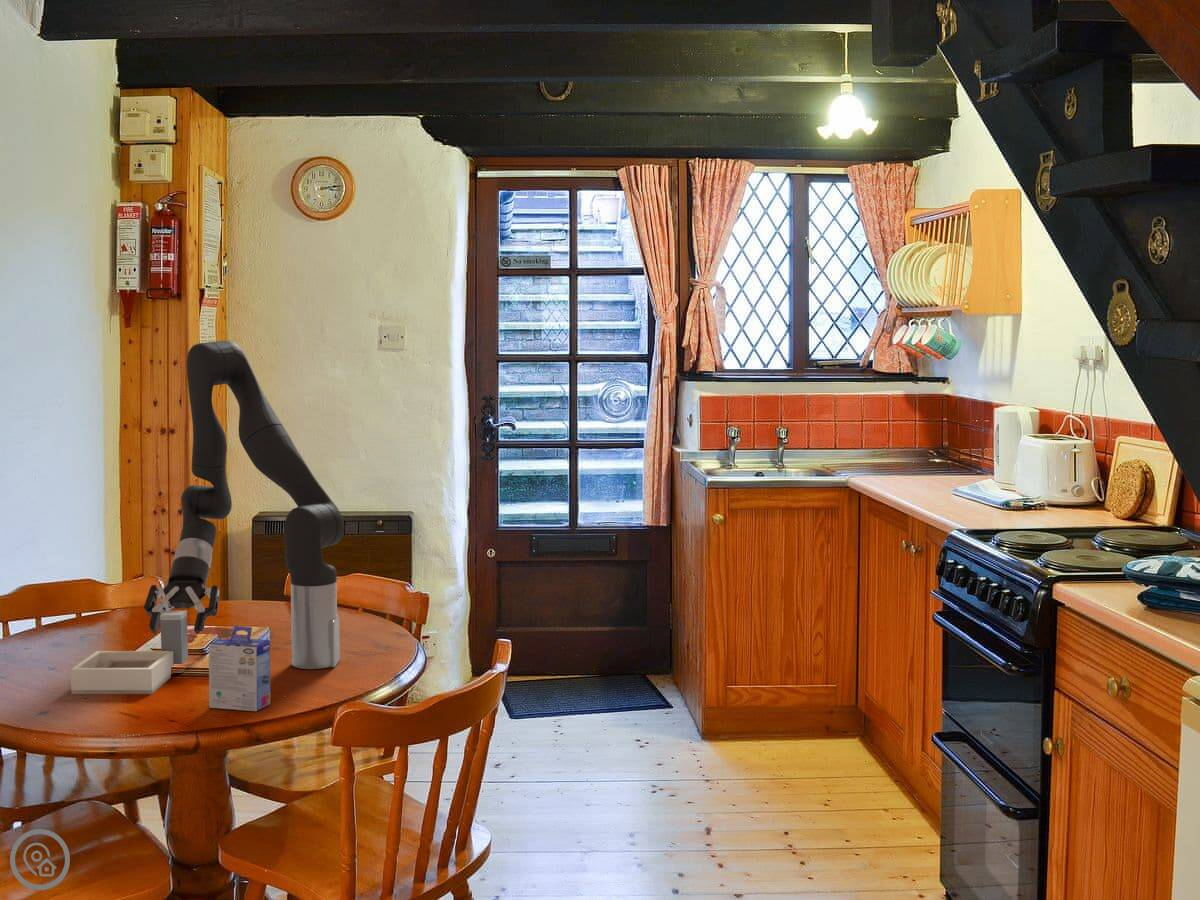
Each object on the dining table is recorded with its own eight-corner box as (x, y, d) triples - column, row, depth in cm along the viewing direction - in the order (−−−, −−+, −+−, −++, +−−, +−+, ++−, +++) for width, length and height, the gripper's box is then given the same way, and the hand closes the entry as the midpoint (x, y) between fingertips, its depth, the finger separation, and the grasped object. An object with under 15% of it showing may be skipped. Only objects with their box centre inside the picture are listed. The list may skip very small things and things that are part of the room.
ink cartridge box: (272, 703, 222) (271, 626, 220) (258, 712, 216) (256, 634, 215) (223, 699, 224) (222, 623, 222) (208, 708, 218) (206, 630, 217)
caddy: (173, 674, 240) (173, 651, 239) (152, 694, 227) (151, 669, 226) (97, 674, 239) (96, 651, 239) (71, 694, 226) (70, 669, 226)
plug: (188, 668, 244) (186, 610, 243) (182, 673, 240) (180, 615, 239) (168, 668, 244) (166, 610, 243) (162, 673, 240) (160, 615, 239)
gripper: (152, 554, 250) (134, 621, 239) (221, 554, 250) (207, 622, 240) (161, 574, 255) (144, 641, 245) (229, 574, 256) (215, 641, 246)
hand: (175, 631), depth 242 cm, fingers open, 8 cm apart
